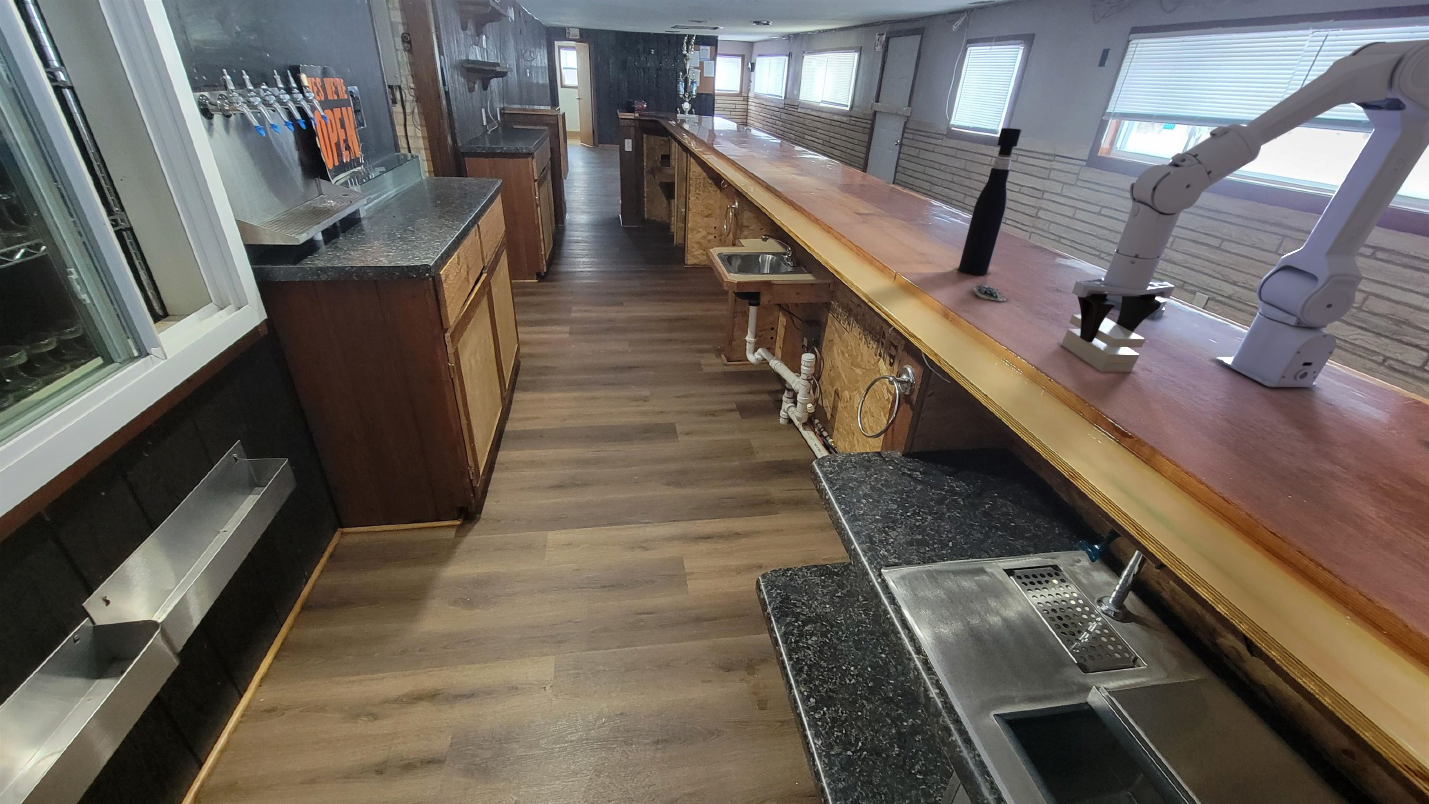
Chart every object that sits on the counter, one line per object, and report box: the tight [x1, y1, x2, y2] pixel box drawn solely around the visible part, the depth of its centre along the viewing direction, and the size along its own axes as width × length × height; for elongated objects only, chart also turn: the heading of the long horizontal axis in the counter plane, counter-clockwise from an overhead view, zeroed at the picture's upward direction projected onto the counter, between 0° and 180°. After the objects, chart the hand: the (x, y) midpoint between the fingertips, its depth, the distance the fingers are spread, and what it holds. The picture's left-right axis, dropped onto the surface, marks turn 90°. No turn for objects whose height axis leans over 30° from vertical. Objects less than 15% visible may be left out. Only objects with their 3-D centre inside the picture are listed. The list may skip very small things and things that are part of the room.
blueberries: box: [970, 284, 1007, 302], centre depth 116 cm, size 7×8×2 cm
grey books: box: [1106, 296, 1168, 321], centre depth 111 cm, size 10×4×3 cm, turn 35°
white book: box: [1069, 314, 1146, 348], centre depth 88 cm, size 10×5×1 cm, turn 5°
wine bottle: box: [958, 127, 1023, 276], centre depth 124 cm, size 6×6×30 cm
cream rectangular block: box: [1060, 328, 1140, 372], centre depth 90 cm, size 10×5×3 cm, turn 5°
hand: (1102, 339), depth 89 cm, fingers closed on white book, 5 cm apart
